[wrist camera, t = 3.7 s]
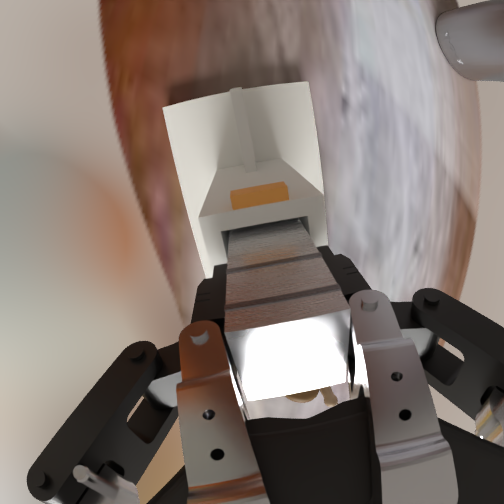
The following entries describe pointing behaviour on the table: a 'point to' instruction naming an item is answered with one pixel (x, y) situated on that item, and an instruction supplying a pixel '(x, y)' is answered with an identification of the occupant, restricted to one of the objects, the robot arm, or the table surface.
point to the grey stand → (247, 163)
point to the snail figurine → (311, 394)
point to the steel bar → (283, 311)
